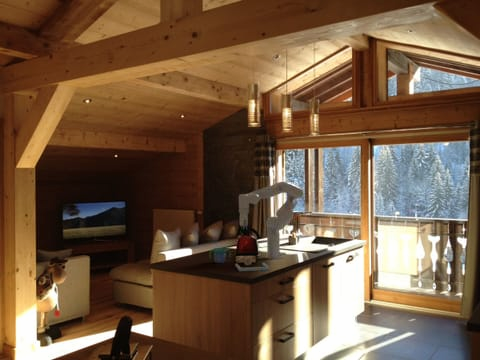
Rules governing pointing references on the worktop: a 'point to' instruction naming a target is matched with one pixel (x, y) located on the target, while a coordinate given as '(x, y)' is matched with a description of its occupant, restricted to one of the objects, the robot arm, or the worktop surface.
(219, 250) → the snack cup
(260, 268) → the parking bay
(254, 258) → the T block
